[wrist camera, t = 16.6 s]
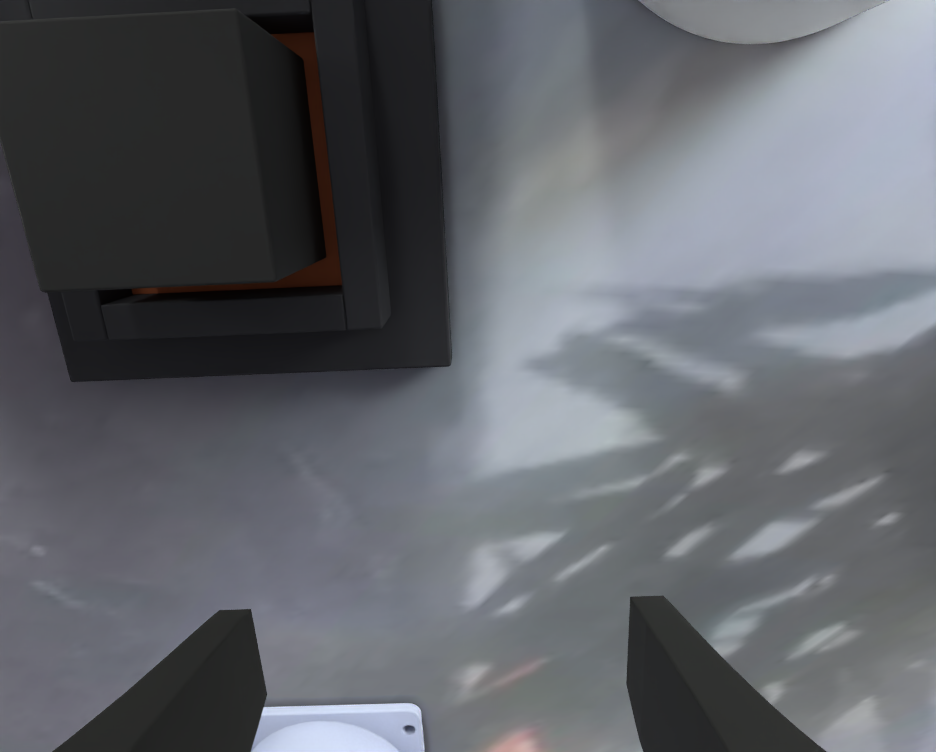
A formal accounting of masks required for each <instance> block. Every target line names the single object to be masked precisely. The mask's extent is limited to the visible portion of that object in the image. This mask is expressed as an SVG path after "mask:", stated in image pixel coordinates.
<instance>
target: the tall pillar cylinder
mask: <svg viewBox="0 0 936 752" xmlns="http://www.w3.org/2000/svg"><path fill="white" fill-rule="evenodd" d="M639 1H640V2H641V3H642V4H643V5H645V6H646V7H647V8H648V9H650V10H651V11H652V12H654V13H655V14H656V15H658V16H659V17H661V18H662V19H664V20H666V21H667V22H669V23H671V24H673V25H674V26H676V27H678V28H680V29H683V30H685V31H687V32H690V33H692V34H695V35H698V36H701V37H704V38H708V39H712V40H716V41H721V42H727V43H736V44H766V43H775V42H782V41H787V40H792V39H796V38H800V37H803V36H807V35H810V34H813V33H816V32H819V31H821V30H824V29H826V28H829V27H831V26H833V25H836V24H838V23H840V22H843V21H845V20H847V19H849V18H851V17H854V16H856V15H858V14H860V13H863V12H865V11H867V10H869V9H871V8H874V7H876V6H878V5H880V4H882V3H885V2H887V1H889V0H639Z"/></svg>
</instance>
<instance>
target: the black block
mask: <svg viewBox="0 0 936 752" xmlns="http://www.w3.org/2000/svg"><path fill="white" fill-rule="evenodd" d="M0 141H1V145H2V148H3V152H4V156H5V160H6V163H7V167H8V171H9V175H10V178H11V182H12V186H13V190H14V193H15V197H16V201H17V204H18V208H19V212H20V216H21V219H22V223H23V227H24V231H25V234H26V238H27V242H28V246H29V249H30V253H31V257H32V261H33V264H34V268H35V272H36V276H37V279H38V283H39V287H40V290H41V292H45V293H47V292H69V291H92V290H114V289H137V288H159V287H181V286H204V285H226V284H249V283H271V282H276V281H278V280H280V279H283V278H285V277H287V276H289V275H291V274H293V273H295V272H297V271H299V270H301V269H303V268H306V267H308V266H310V265H312V264H314V263H316V262H318V261H320V260H322V259H324V258H326V249H325V240H324V232H323V223H322V215H321V206H320V198H319V189H318V181H317V172H316V164H315V155H314V146H313V138H312V129H311V121H310V112H309V104H308V95H307V87H306V78H305V70H304V61H303V59H302V58H301V57H300V56H299V55H297V54H296V53H295V52H293V51H292V50H291V49H289V48H288V47H287V46H285V45H284V44H283V43H281V42H280V41H279V40H277V39H276V38H275V37H273V36H272V35H271V34H269V33H268V32H267V31H265V30H264V29H263V28H261V27H260V26H259V25H257V24H256V23H255V22H253V21H252V20H251V19H249V18H248V17H247V16H245V15H244V14H243V13H241V12H240V11H239V10H237V9H235V8H233V9H215V10H197V11H179V12H161V13H143V14H125V15H106V16H88V17H70V18H52V19H34V20H16V21H0Z"/></svg>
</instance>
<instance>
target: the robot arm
mask: <svg viewBox="0 0 936 752" xmlns="http://www.w3.org/2000/svg"><path fill="white" fill-rule="evenodd" d="M627 688H628V693H629V697H630V701H631V706H632V710H633V715H634V719H635V723H636V727H637V731H638V735H639V739H640V743H641V746H642V749H643V752H826V751H825V750H824V749H822V748H821V747H820V746H818V745H817V744H816V743H815V742H814V741H812V740H811V739H810V738H809V737H808V736H806V735H805V734H804V733H803V732H802V731H800V730H799V729H798V728H797V727H796V726H795V725H793V724H792V723H791V722H790V721H789V720H788V719H787V718H786V717H784V716H783V715H782V714H781V713H780V712H779V711H778V710H777V709H775V708H774V707H773V706H772V705H771V704H770V703H769V702H768V701H767V700H766V699H765V698H763V697H762V696H761V695H760V694H759V693H758V692H757V691H756V690H755V689H754V688H753V687H752V686H751V685H750V684H749V683H748V682H747V681H746V680H745V679H744V678H743V677H742V676H740V675H739V674H738V673H737V672H736V671H735V670H734V669H733V668H732V667H731V666H730V665H729V664H728V663H727V662H726V661H725V660H724V659H723V658H722V657H721V656H720V655H719V654H718V653H717V652H716V651H715V650H714V649H713V648H712V647H711V646H710V644H709V643H708V642H707V641H706V640H705V639H704V638H703V637H702V636H701V635H700V634H699V633H698V632H697V631H696V630H695V629H694V628H693V627H692V626H691V625H690V623H689V622H688V621H687V620H686V619H685V618H684V617H683V616H682V615H681V614H680V613H679V612H678V611H677V609H676V608H675V607H674V606H673V605H672V604H671V603H670V602H669V601H668V600H667V599H666V598H665V597H664V596H642V597H630V616H629V639H628V661H627ZM266 696H267V692H266V686H265V681H264V676H263V671H262V665H261V660H260V655H259V650H258V644H257V639H256V634H255V628H254V623H253V618H252V613H251V609H244V610H219V611H218V612H217V613H216V614H214V615H213V616H212V617H211V618H210V619H208V620H207V621H206V622H205V623H204V624H203V625H202V626H200V627H199V628H198V629H197V630H196V631H195V632H194V633H192V634H191V635H190V636H189V637H188V638H187V639H186V640H185V641H184V642H182V643H181V644H180V645H179V646H178V647H177V648H176V649H175V650H173V651H172V652H171V653H170V654H169V655H168V656H167V657H166V658H165V659H163V660H162V661H161V662H160V663H159V664H158V665H157V666H155V667H154V668H153V669H152V670H151V671H150V672H149V673H147V674H146V675H145V676H144V677H143V678H142V679H141V680H139V681H138V682H137V683H136V684H135V685H134V686H133V687H131V688H130V689H129V690H128V691H127V692H126V693H124V694H123V695H122V696H121V697H120V698H118V699H117V700H116V701H115V702H114V703H112V704H111V705H110V706H109V707H107V708H106V709H105V710H104V711H102V712H101V713H100V714H99V715H98V716H96V717H95V718H94V719H93V720H91V721H90V722H89V723H88V724H87V725H85V726H84V727H83V728H82V729H80V730H79V731H78V732H77V733H75V734H74V735H73V736H72V737H71V738H69V739H68V740H67V741H66V742H64V743H63V744H62V745H60V746H59V747H58V748H56V749H55V750H54V751H53V752H425V748H424V737H423V726H422V714H421V710H420V708H419V707H418V706H416V705H414V704H412V703H393V704H357V705H322V706H286V707H264V704H265V700H266ZM407 725H411V726H412V727H409V726H407Z"/></svg>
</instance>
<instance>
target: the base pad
mask: <svg viewBox="0 0 936 752" xmlns="http://www.w3.org/2000/svg"><path fill="white" fill-rule="evenodd" d="M233 8H235V9H237V10H239V11H240V12H241V13H243V14H244V15H245V16H247V17H248V18H249V19H251V20H252V21H253V22H255V23H256V24H257V25H259V26H260V27H261V28H263V29H264V30H265V31H267V32H268V33H269V34H271V35H272V36H273V37H275V38H276V39H277V40H279V41H280V42H281V43H283V44H284V45H285V46H287V47H288V48H289V49H291V50H292V51H293V52H295V53H296V54H297V55H299V56H300V57H301V58H302V59H303V61H304V70H305V78H306V87H307V95H308V104H309V112H310V121H311V129H312V138H313V146H314V155H315V164H316V172H317V181H318V189H319V198H320V206H321V215H322V223H323V232H324V240H325V249H326V258H324V259H322V260H320V261H318V262H316V263H314V264H312V265H310V266H308V267H306V268H303V269H301V270H299V271H297V272H295V273H293V274H291V275H289V276H287V277H285V278H283V279H280V280H278V281H276V282H271V283H249V284H226V285H204V286H181V287H159V288H137V289H114V290H92V291H69V292H47V293H48V297H49V300H50V304H51V308H52V312H53V316H54V319H55V323H56V327H57V331H58V335H59V338H60V342H61V346H62V350H63V354H64V357H65V361H66V365H67V369H68V372H69V376H70V380H71V381H72V382H82V381H106V380H131V379H155V378H179V377H203V376H228V375H252V374H276V373H301V372H325V371H349V370H373V369H398V368H422V367H446V366H450V365H451V360H452V349H451V331H450V313H449V296H448V278H447V260H446V242H445V224H444V207H443V189H442V171H441V153H440V135H439V118H438V100H437V82H436V64H435V46H434V29H433V11H432V0H0V21H16V20H34V19H52V18H70V17H88V16H106V15H125V14H143V13H161V12H179V11H197V10H215V9H233Z"/></svg>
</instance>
